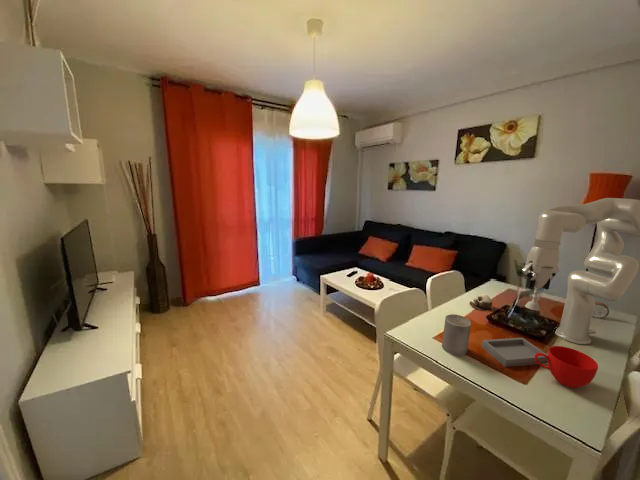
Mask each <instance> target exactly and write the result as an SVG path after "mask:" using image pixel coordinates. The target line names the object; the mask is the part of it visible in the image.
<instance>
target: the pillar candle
mask: <svg viewBox="0 0 640 480" xmlns="http://www.w3.org/2000/svg"><path fill="white" fill-rule="evenodd" d="M471 326H472V322H471V320H470V319H469V318H468V317H465V316H463V315H460V314H446V315H445V319H444V326H443V334H442V342H441V347H442V349H443V351H445V353H448V354H450V355H452V356H459V357H460V356H466V355H467V353H468V348H469V341H470V333H471Z"/></svg>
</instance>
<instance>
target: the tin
mask: <svg viewBox="0 0 640 480" xmlns="http://www.w3.org/2000/svg"><path fill="white" fill-rule="evenodd" d="M594 301H595V300H594ZM609 314H610V309H609V307H608V305H607V304H606V303H604V302H600V301H595V308H594V312H593V316H592V318H595V319H603V318H606V317H607V316H609Z"/></svg>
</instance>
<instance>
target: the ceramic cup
mask: <svg viewBox="0 0 640 480" xmlns="http://www.w3.org/2000/svg"><path fill="white" fill-rule="evenodd" d="M547 355H548V356H547ZM547 355H545V354H543V353H537V354H535V361H536V362H537V363H538V364H537V365H539V366H541V367H542V368H544V369H546V370H548V371H550V373H551V375H552V376H553V377H554V379H555V380H556V382H558V383H559V384H561V385H563V386H565V387H568V388H571V389H579V388H582V387H585V386H587V385H588V384H590V383H591V382H592V381H593V380H594V378H595V377H596V375H597V372H598V369H599V365H598V362H597V361H596V360H595V359H594V358H592V357H591V356H589V355H588V354H586V353H584V352H582V351H579V350H577V349H575V348H572V347H566V346H563V345H562V346H561V345H553V346H551V347H549V348H548V352H547ZM538 356H544V357H546V358H547V360H548V363H547V365H545V364H541V363H540V362H539V361H538V360H537V357H538Z"/></svg>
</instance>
